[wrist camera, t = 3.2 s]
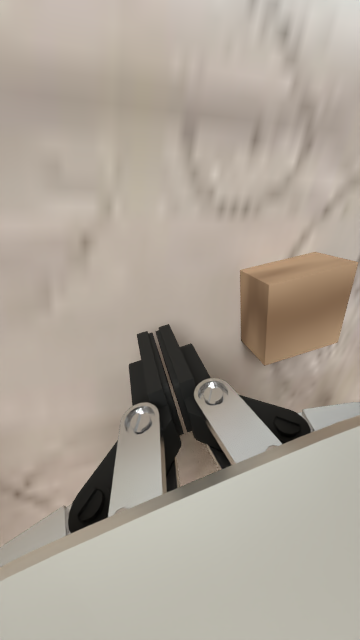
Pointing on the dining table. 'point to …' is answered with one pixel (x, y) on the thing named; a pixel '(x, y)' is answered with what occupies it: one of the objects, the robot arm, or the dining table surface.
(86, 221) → the dining table surface
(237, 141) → the dining table surface
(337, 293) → the cardboard shipping box
